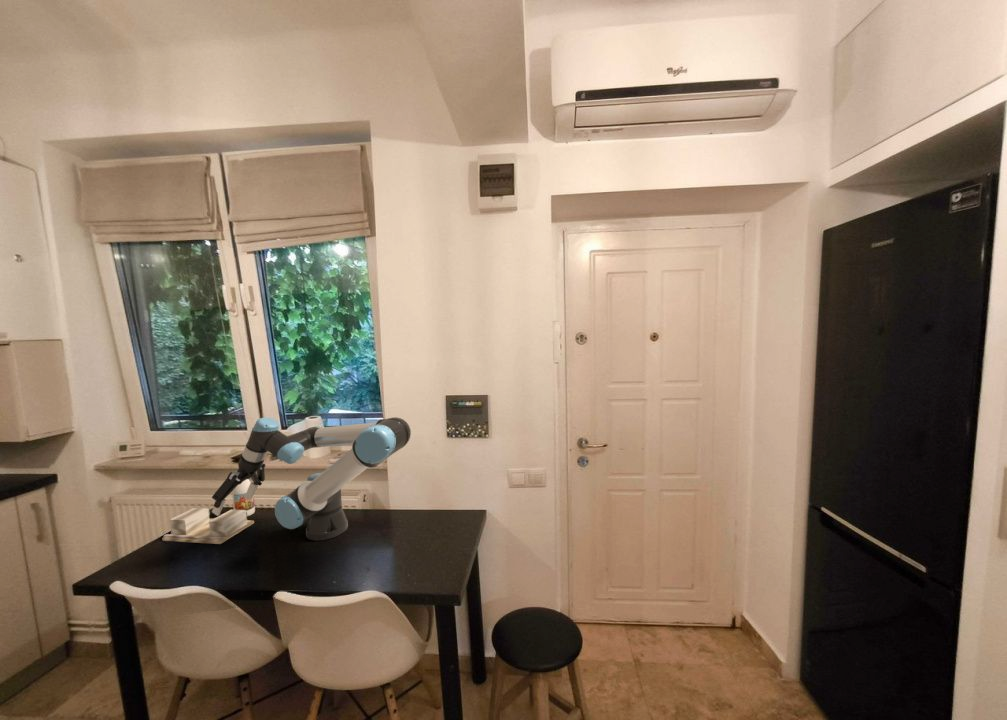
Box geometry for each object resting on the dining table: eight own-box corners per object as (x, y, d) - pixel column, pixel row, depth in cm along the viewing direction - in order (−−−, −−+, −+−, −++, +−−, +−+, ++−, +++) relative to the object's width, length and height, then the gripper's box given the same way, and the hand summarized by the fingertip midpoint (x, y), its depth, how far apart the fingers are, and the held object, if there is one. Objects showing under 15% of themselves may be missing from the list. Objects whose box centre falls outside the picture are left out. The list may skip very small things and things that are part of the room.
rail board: (254, 522, 158) (252, 506, 158) (220, 544, 142) (218, 526, 142) (201, 520, 162) (199, 504, 162) (162, 540, 146) (160, 523, 146)
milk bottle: (229, 518, 163) (225, 473, 162) (244, 509, 171) (240, 467, 169) (244, 519, 162) (241, 474, 160) (259, 510, 169) (255, 467, 168)
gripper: (272, 443, 150) (252, 487, 153) (213, 462, 126) (191, 515, 128) (286, 452, 149) (267, 497, 152) (230, 473, 125) (208, 526, 127)
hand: (232, 505), depth 140 cm, fingers open, 13 cm apart
